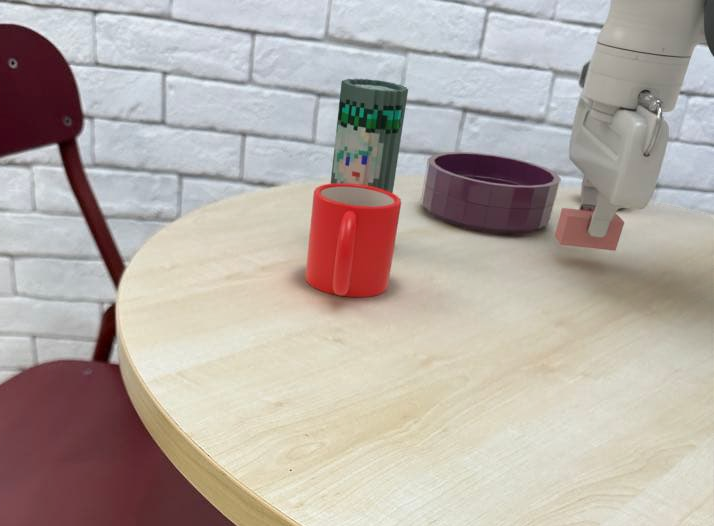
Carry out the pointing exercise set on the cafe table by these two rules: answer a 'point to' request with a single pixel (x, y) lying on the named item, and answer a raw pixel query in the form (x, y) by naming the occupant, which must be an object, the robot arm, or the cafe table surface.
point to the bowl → (489, 192)
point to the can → (368, 133)
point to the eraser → (576, 234)
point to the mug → (352, 239)
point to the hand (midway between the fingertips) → (589, 228)
